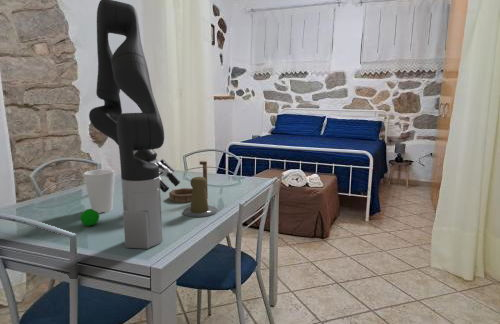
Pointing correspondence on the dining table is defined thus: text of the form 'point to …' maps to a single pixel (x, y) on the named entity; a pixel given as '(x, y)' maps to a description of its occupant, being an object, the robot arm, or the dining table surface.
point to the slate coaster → (210, 212)
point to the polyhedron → (89, 217)
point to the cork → (199, 195)
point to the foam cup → (100, 189)
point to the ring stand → (187, 189)
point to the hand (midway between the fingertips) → (172, 187)
